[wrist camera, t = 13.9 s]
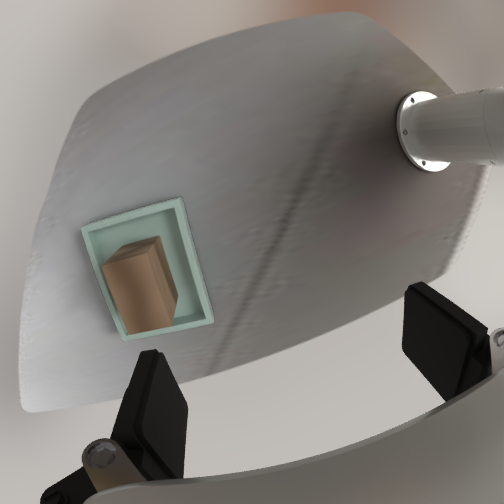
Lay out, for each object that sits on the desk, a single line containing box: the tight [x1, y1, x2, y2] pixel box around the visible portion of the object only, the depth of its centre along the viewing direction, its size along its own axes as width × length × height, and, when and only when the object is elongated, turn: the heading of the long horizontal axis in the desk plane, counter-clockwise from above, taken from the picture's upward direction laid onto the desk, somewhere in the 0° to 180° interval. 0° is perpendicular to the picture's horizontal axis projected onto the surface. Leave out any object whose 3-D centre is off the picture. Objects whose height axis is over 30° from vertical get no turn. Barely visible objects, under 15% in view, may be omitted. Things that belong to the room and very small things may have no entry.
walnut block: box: [102, 235, 178, 335], centre depth 31 cm, size 5×8×8 cm, turn 12°
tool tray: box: [81, 196, 214, 342], centre depth 35 cm, size 13×16×3 cm
